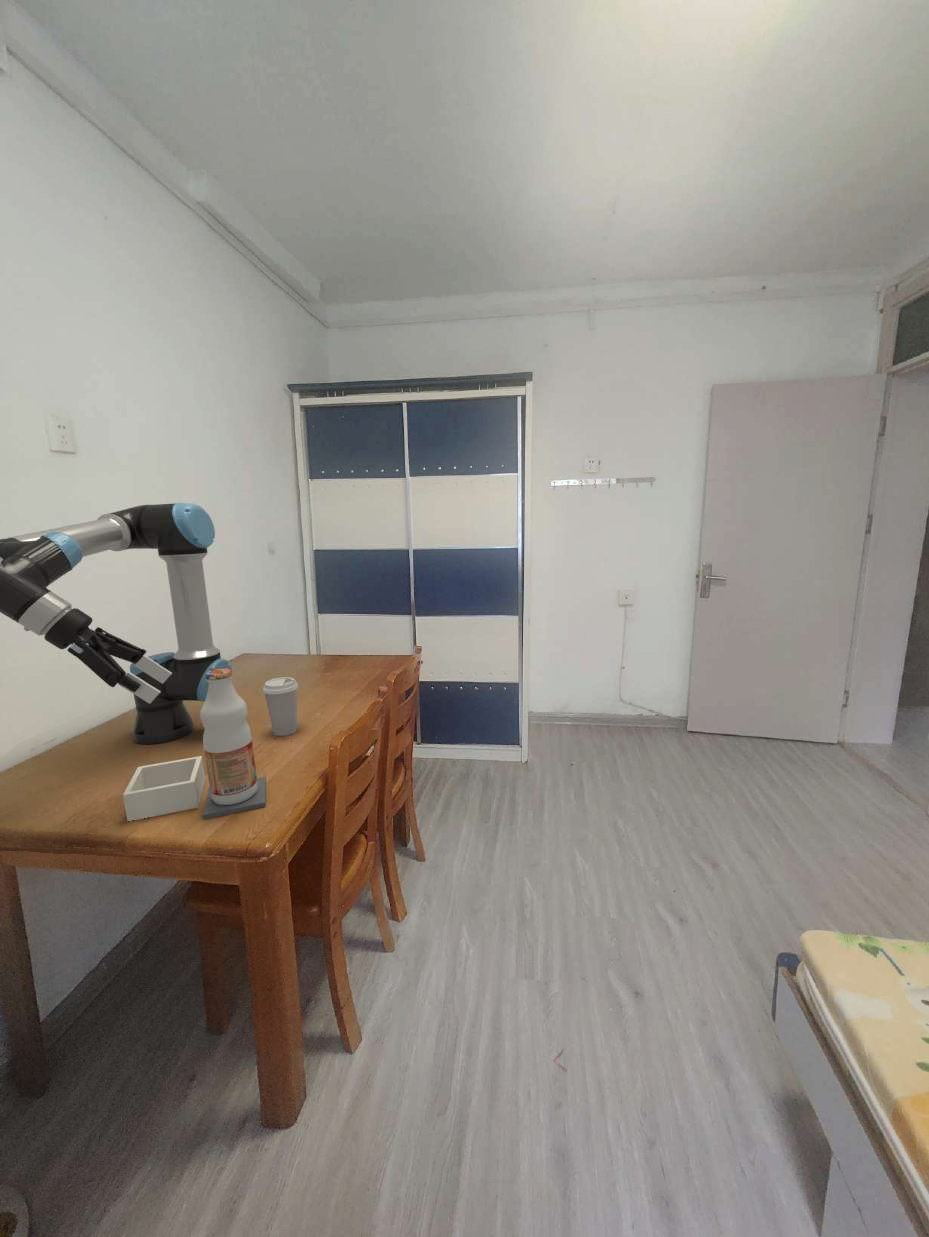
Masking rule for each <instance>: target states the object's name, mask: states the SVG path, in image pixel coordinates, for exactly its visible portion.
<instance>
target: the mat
mask: <svg viewBox="0 0 929 1237" xmlns="http://www.w3.org/2000/svg"><path fill="white" fill-rule="evenodd" d="M257 783H258V788H257V791H256V793H255V794H254V795H253V796H252V797H251V798H249V799H247V800H245V801H243V802H240V803H237V804H232V805H219V804H216V803H214V802H213V800H212V798H211V793H210V787H208V789H207V793H206V797H205V802H204V806H203V810H202V814H201V816H202V821H203V820H209V819H212V818H218V817H223V816H227V815H233V814H236V813H241V812H246V811H252V810H256V809H261V808H265V807H266V803H267V802H266V801H267V800H266V798H267V777H266V775H265V776H261V777H257Z"/></svg>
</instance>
